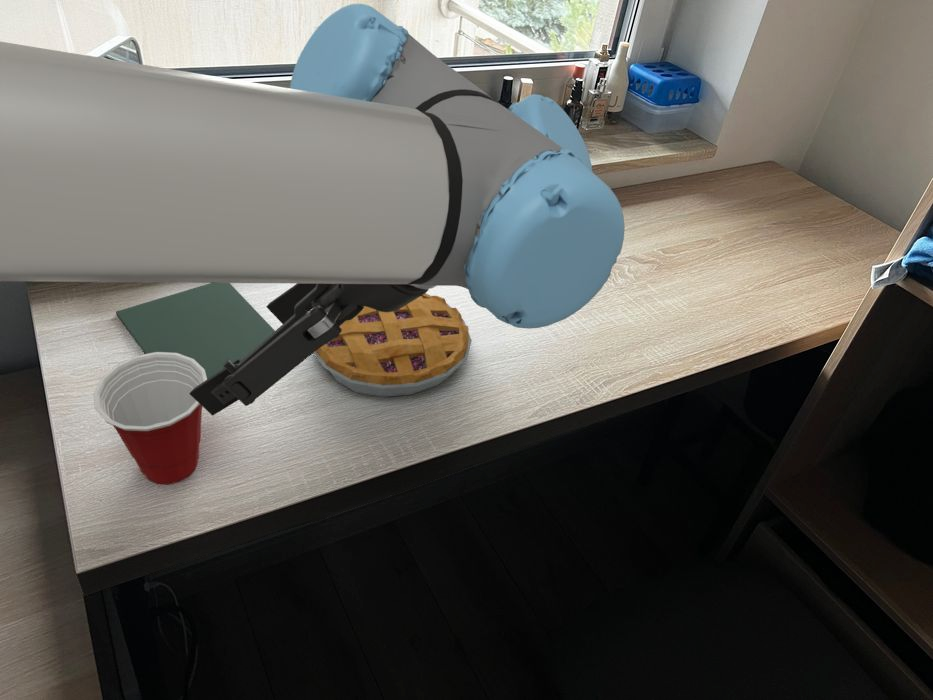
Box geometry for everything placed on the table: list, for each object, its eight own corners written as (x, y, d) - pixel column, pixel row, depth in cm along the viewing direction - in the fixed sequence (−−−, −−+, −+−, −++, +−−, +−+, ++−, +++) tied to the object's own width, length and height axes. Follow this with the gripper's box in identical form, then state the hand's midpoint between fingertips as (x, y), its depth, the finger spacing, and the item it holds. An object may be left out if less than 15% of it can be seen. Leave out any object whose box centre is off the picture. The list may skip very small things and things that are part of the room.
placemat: (175, 396, 89) (174, 392, 88) (116, 314, 100) (115, 311, 99) (292, 352, 97) (292, 348, 97) (225, 281, 109) (225, 278, 108)
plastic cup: (95, 494, 76) (67, 411, 69) (148, 424, 84) (128, 343, 77) (193, 514, 75) (176, 432, 68) (237, 441, 84) (225, 362, 76)
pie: (434, 296, 111) (437, 268, 108) (494, 386, 96) (498, 357, 93) (292, 318, 103) (290, 289, 100) (332, 421, 88) (331, 390, 85)
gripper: (377, 384, 47) (199, 479, 58) (475, 215, 66) (326, 311, 77) (297, 298, 44) (127, 415, 56) (422, 148, 63) (277, 258, 75)
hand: (243, 355), depth 67 cm, fingers open, 13 cm apart
